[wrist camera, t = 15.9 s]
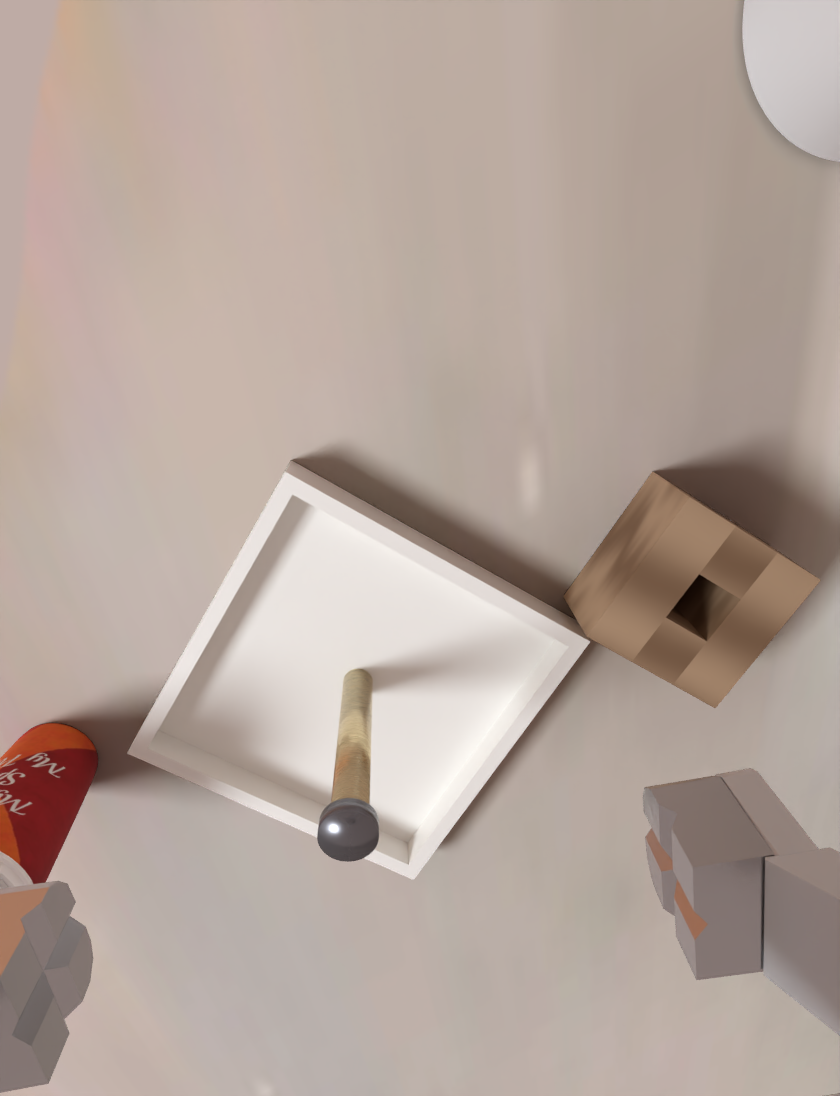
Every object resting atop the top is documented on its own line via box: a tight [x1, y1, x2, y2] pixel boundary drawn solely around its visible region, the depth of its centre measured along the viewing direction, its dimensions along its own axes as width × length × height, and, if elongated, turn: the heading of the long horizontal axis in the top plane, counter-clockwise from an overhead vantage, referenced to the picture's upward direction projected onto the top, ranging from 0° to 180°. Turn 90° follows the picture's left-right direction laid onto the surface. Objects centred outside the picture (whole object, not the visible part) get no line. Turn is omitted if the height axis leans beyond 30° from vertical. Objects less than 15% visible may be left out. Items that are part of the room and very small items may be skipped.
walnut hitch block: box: [563, 472, 821, 708], centre depth 47 cm, size 10×10×6 cm
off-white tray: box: [127, 460, 590, 880], centre depth 50 cm, size 22×22×3 cm
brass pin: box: [317, 669, 379, 861], centre depth 43 cm, size 3×3×15 cm
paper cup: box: [0, 723, 98, 889], centre depth 46 cm, size 8×8×14 cm
